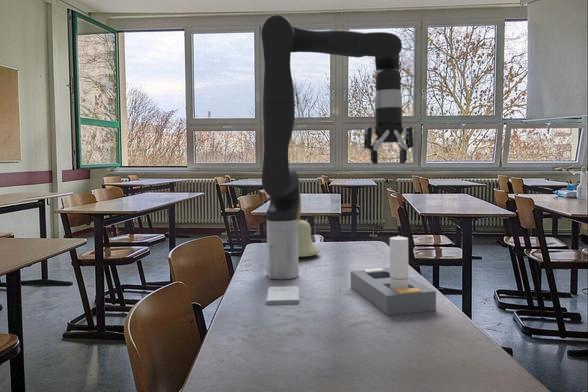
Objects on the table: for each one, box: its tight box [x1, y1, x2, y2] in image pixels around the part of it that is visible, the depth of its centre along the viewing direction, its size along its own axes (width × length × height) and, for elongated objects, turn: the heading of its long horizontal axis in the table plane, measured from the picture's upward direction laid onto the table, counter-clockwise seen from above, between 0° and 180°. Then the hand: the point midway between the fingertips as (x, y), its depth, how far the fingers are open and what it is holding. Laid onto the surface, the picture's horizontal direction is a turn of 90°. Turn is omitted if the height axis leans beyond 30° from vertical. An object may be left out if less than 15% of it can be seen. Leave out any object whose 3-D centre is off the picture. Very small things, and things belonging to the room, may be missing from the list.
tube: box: [389, 236, 409, 290], centre depth 115 cm, size 4×4×15 cm
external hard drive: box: [265, 285, 301, 306], centre depth 124 cm, size 2×8×12 cm
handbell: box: [297, 187, 321, 258], centre depth 172 cm, size 15×15×25 cm
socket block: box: [350, 267, 437, 317], centre depth 121 cm, size 24×12×5 cm, turn 13°
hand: (388, 163), depth 139 cm, fingers open, 8 cm apart
